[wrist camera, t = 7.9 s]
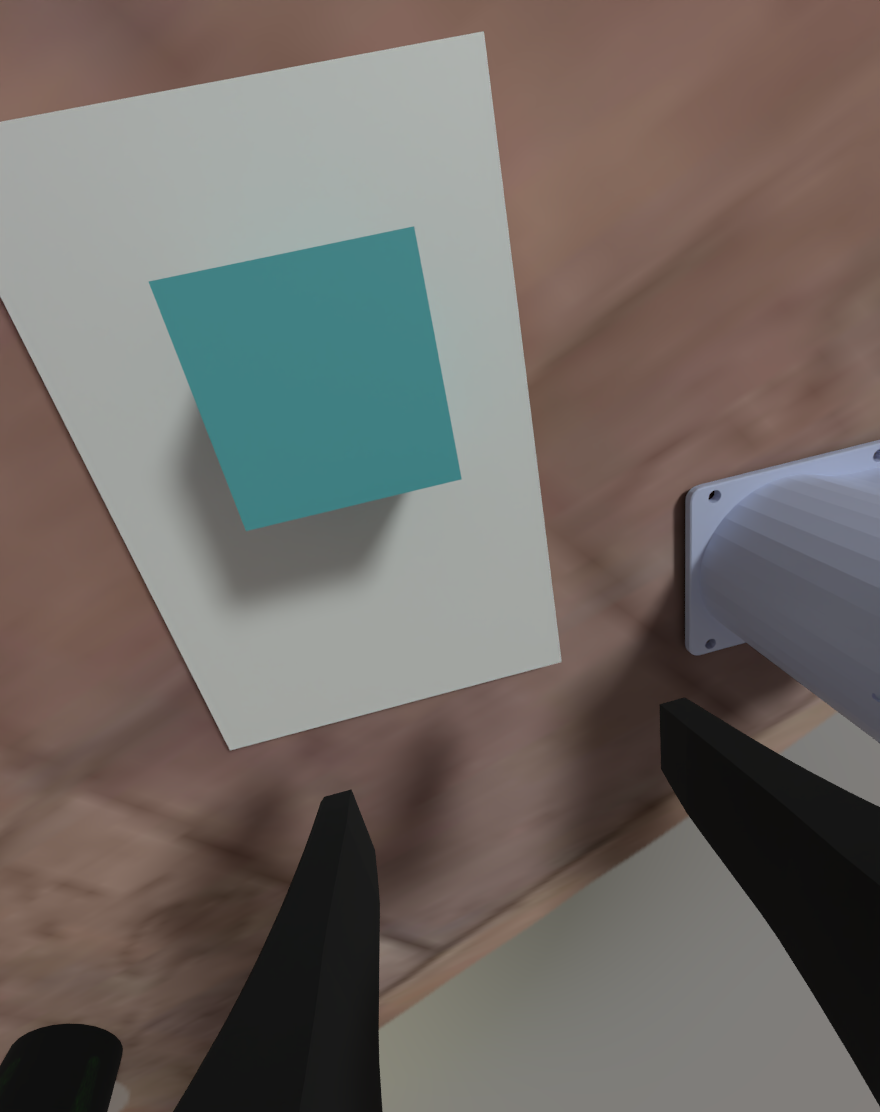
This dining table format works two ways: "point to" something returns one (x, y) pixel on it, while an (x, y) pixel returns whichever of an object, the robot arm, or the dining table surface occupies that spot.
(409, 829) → the dining table surface
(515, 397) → the post board
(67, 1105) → the cup
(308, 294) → the turquoise box
